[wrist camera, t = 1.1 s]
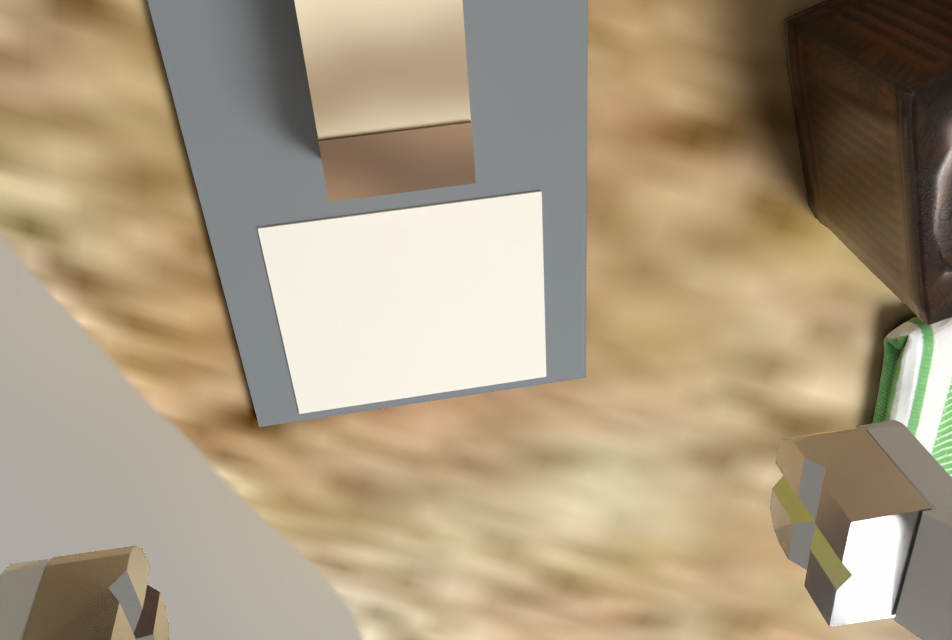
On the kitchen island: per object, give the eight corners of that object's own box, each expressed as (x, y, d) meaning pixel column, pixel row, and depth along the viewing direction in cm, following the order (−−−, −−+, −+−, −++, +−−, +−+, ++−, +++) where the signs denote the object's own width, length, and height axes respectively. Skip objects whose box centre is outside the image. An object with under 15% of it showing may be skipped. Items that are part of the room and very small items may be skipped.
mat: (125, -97, 31) (122, -94, 30) (584, -141, 32) (589, -139, 32) (259, 420, 44) (259, 428, 43) (583, 371, 45) (586, 378, 45)
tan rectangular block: (285, -78, 31) (284, -56, 28) (443, -94, 32) (457, -74, 29) (326, 161, 36) (329, 202, 33) (461, 145, 37) (475, 183, 34)
